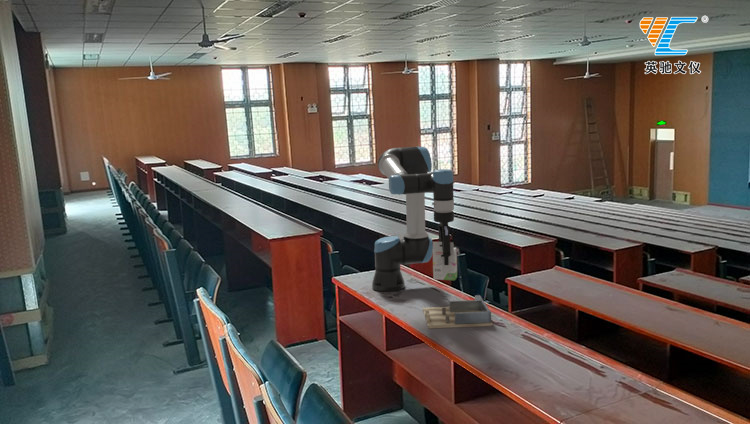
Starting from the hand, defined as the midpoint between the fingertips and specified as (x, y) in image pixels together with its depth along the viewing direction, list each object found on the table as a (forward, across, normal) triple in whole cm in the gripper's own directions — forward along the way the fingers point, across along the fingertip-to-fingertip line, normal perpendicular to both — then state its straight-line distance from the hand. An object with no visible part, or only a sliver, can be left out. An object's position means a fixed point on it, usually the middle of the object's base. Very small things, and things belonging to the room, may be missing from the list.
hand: (444, 270), depth 223 cm
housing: (+19, -3, +9) cm, 21 cm away
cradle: (+20, -3, +4) cm, 21 cm away
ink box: (+3, 0, 0) cm, 3 cm away
